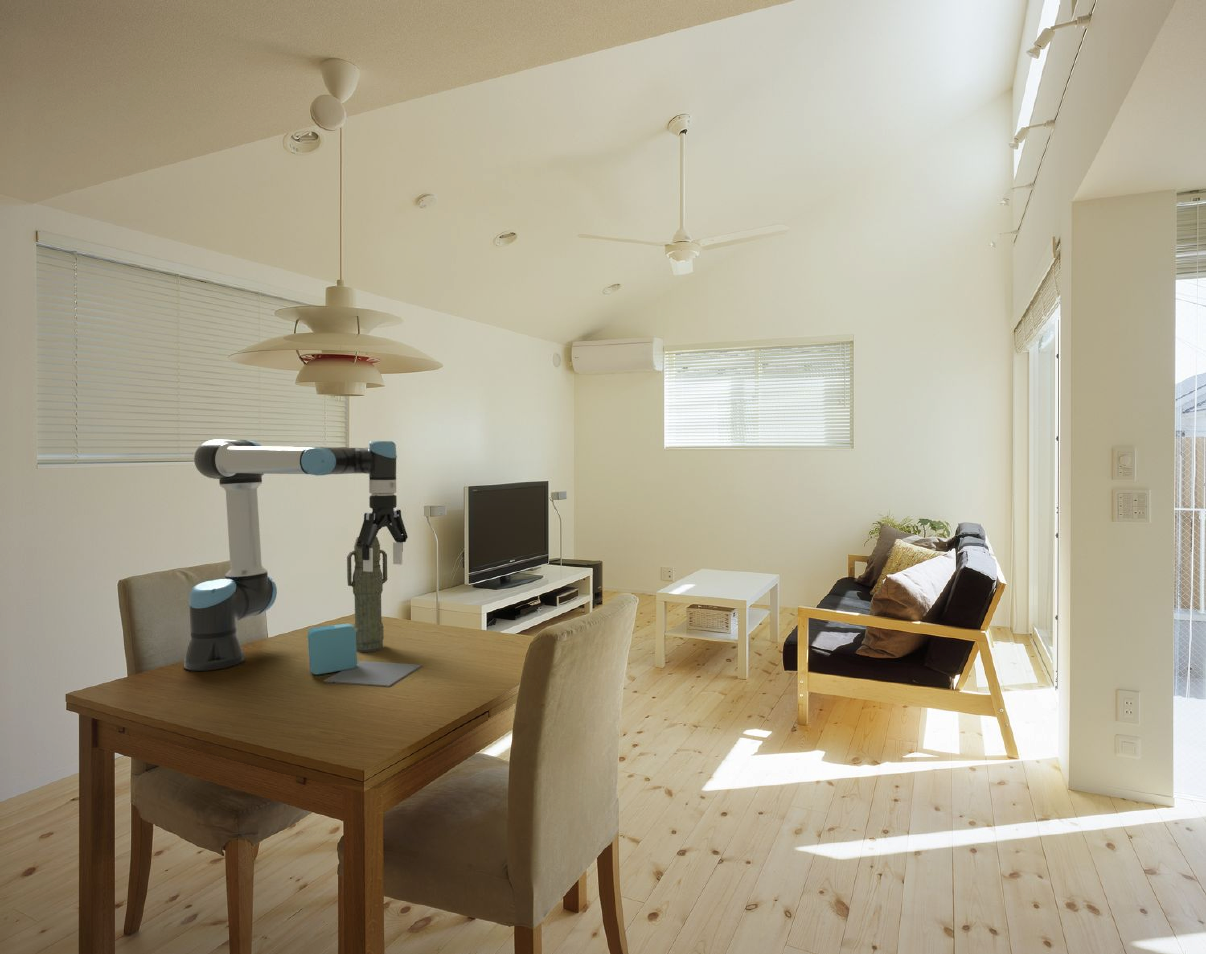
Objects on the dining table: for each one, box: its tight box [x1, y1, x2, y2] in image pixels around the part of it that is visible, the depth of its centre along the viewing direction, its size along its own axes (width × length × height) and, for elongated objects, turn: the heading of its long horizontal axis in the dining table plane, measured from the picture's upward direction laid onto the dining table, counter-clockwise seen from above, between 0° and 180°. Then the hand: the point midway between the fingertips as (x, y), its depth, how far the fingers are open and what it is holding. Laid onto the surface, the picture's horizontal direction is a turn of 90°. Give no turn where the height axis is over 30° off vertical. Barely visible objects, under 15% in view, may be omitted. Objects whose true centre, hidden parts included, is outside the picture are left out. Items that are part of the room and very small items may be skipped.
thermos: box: [346, 536, 388, 653], centre depth 220 cm, size 9×12×35 cm
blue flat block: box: [307, 623, 358, 676], centre depth 198 cm, size 12×4×12 cm, turn 118°
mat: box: [323, 660, 423, 688], centre depth 195 cm, size 19×18×1 cm
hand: (383, 567), depth 206 cm, fingers open, 13 cm apart
